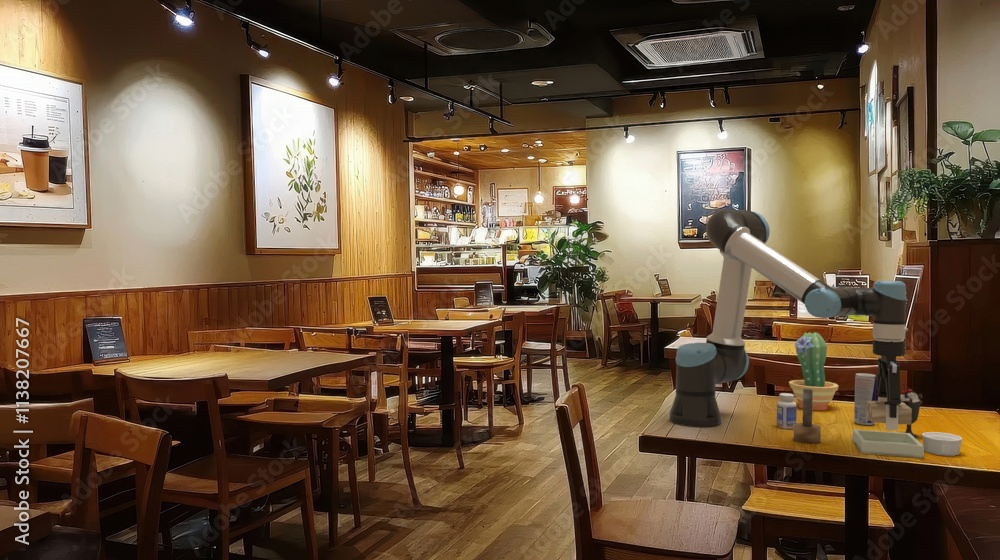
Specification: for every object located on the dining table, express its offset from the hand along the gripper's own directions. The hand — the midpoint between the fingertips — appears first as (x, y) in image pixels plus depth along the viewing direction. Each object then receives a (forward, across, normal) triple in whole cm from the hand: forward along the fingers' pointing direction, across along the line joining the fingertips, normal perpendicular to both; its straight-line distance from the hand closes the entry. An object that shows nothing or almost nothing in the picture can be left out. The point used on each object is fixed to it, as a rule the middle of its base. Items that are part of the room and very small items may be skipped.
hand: (887, 425), depth 191 cm
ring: (-2, 0, 0) cm, 2 cm away
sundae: (+6, +17, -9) cm, 20 cm away
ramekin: (+7, +1, -13) cm, 15 cm away
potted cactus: (+6, +51, +12) cm, 53 cm away
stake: (+6, +3, +19) cm, 20 cm away
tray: (+6, 0, 0) cm, 6 cm away
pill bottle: (+6, +18, +23) cm, 30 cm away
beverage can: (+6, +30, 0) cm, 31 cm away
